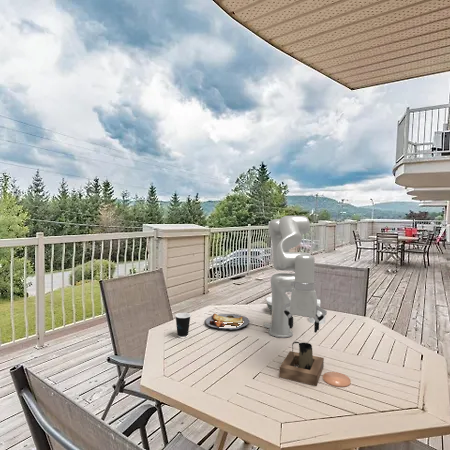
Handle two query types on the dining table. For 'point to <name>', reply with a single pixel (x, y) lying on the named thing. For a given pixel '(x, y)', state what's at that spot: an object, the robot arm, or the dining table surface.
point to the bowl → (270, 302)
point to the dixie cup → (182, 324)
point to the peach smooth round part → (336, 379)
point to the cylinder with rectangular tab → (318, 315)
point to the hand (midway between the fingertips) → (303, 329)
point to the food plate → (226, 320)
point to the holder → (301, 369)
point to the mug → (305, 355)
